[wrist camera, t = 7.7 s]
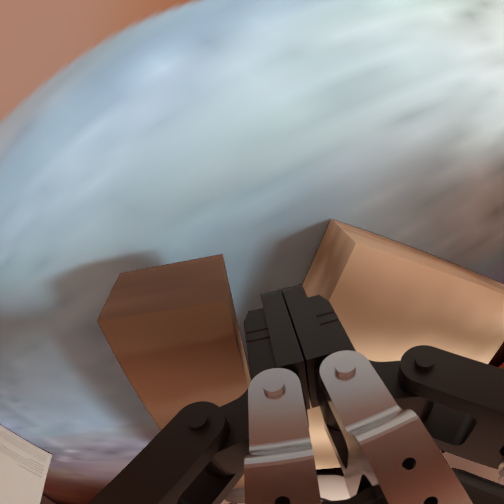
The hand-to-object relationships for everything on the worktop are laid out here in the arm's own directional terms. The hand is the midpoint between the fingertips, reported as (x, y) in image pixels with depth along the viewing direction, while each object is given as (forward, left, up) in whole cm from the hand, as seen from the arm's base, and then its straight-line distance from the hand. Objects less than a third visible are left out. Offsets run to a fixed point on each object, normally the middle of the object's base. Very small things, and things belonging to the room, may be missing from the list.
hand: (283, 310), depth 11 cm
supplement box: (+30, -18, -5) cm, 36 cm away
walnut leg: (+7, -1, -1) cm, 7 cm away
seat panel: (+7, +12, -5) cm, 14 cm away
